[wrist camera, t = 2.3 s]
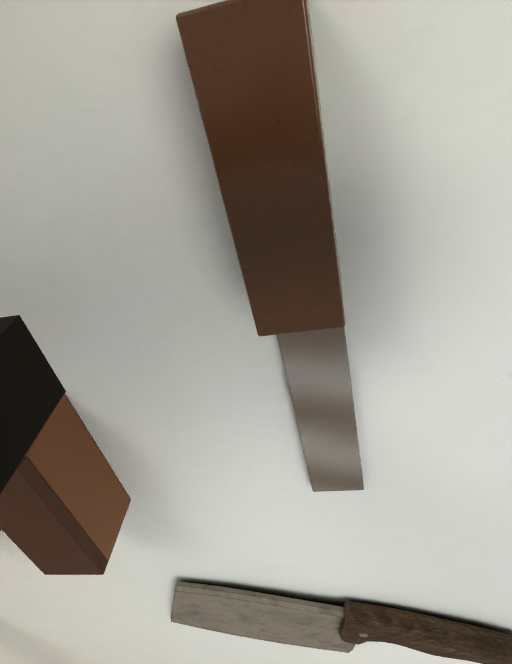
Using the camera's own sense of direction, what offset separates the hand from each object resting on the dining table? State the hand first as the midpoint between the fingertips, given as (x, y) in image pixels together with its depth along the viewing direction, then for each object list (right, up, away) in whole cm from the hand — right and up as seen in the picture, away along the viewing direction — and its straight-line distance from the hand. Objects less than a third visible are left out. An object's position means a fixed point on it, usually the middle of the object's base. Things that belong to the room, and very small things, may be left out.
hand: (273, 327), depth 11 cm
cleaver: (+7, -24, +27) cm, 37 cm away
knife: (+2, +1, +9) cm, 9 cm away
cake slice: (-12, -8, +17) cm, 22 cm away
